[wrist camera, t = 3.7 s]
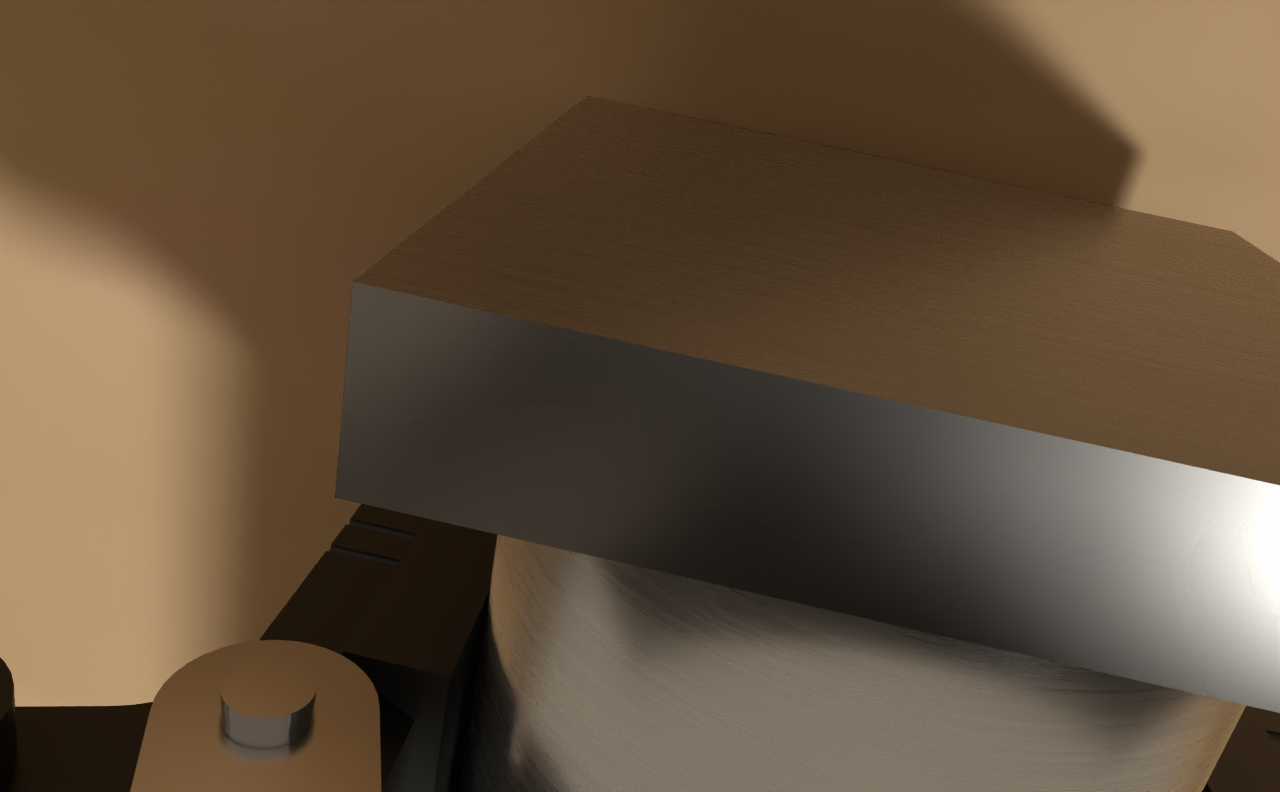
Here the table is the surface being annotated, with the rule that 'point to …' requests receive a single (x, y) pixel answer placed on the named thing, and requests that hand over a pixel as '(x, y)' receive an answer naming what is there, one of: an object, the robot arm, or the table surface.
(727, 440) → the tube
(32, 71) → the table surface
